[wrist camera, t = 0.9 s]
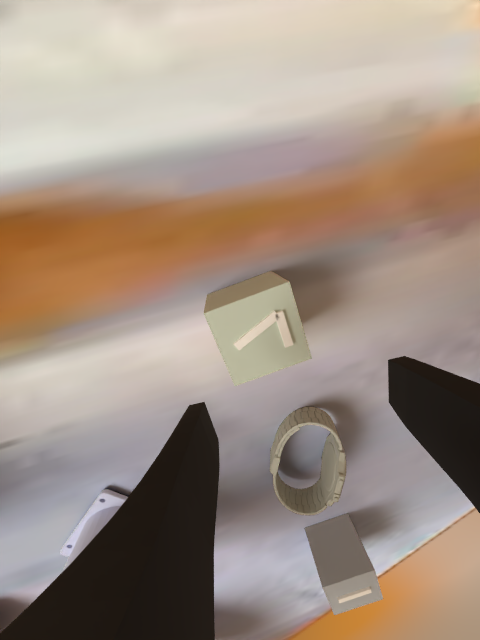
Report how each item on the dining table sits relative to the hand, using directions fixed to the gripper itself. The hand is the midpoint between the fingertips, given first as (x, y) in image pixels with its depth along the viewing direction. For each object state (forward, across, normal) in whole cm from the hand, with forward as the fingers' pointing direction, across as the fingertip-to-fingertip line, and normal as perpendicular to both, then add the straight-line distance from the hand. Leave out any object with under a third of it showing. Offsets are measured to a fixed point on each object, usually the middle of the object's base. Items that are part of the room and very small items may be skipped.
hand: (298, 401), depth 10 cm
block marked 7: (+10, +1, 0) cm, 10 cm away
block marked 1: (+9, -2, +28) cm, 29 cm away
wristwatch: (+10, 0, +14) cm, 17 cm away
